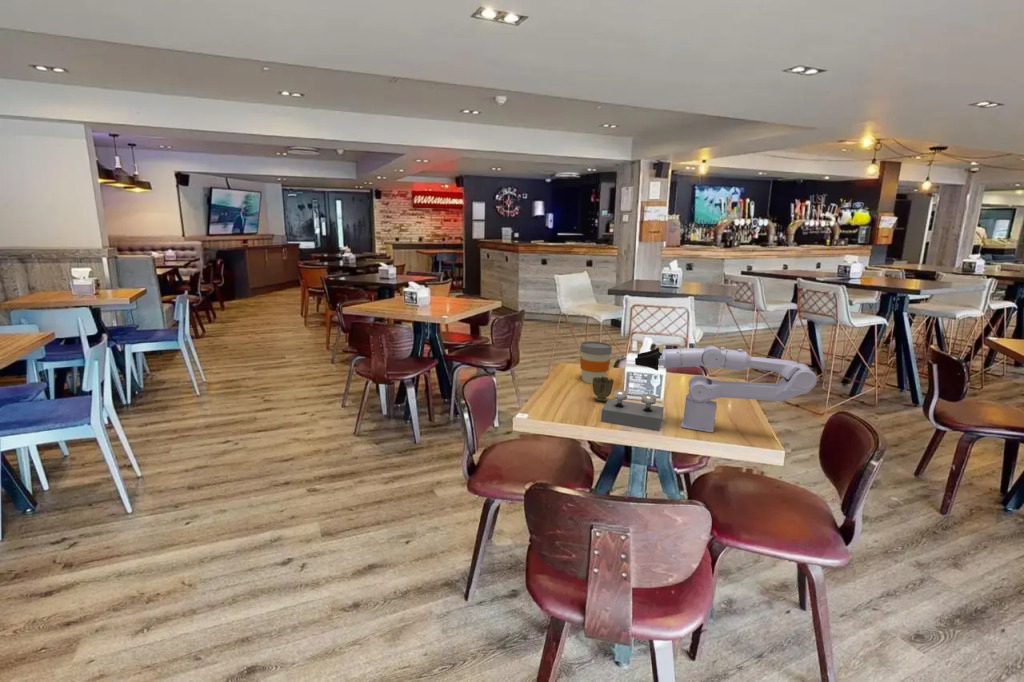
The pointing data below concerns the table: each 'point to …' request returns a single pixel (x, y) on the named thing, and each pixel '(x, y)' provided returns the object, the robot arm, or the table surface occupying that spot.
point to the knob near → (648, 400)
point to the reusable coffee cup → (594, 360)
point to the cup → (602, 388)
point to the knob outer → (620, 396)
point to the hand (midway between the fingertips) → (636, 359)
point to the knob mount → (632, 415)
